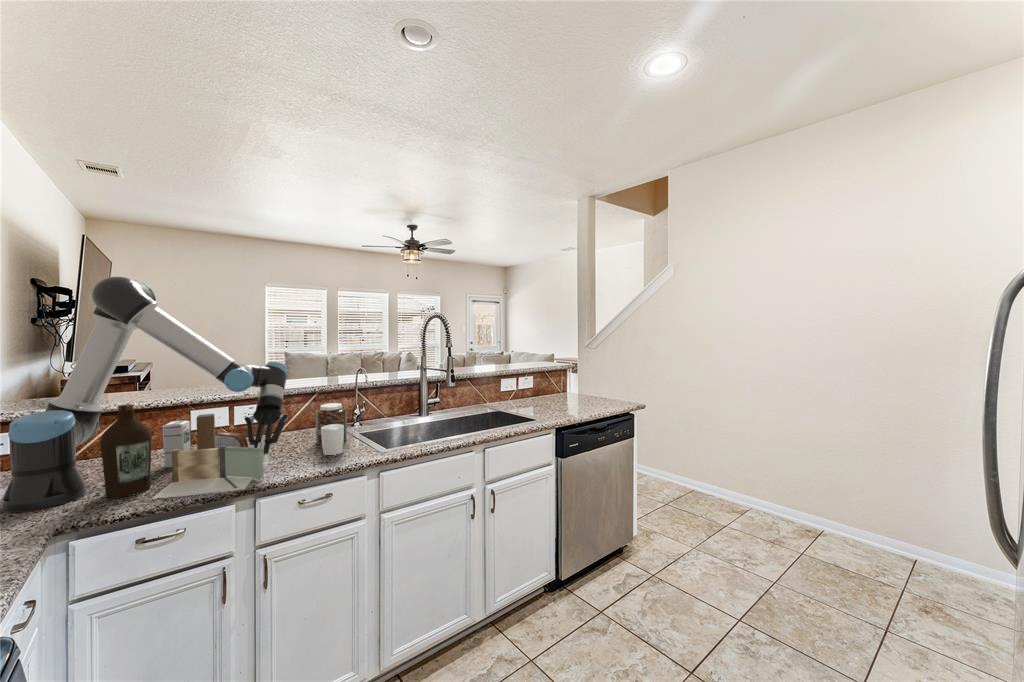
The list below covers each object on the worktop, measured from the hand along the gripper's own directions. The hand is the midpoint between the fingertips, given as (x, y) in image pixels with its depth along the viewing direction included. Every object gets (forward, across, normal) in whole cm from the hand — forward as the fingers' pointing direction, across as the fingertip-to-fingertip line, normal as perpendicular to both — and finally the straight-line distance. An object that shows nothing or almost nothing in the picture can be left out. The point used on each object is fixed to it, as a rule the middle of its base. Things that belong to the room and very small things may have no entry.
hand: (258, 463), depth 128 cm
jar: (-22, -18, -29) cm, 40 cm away
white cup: (-10, -20, -17) cm, 28 cm away
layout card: (+5, +12, -2) cm, 13 cm away
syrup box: (-12, +29, -19) cm, 37 cm away
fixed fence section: (+1, +16, -5) cm, 17 cm away
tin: (-16, +16, -23) cm, 33 cm away
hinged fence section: (+3, +4, -2) cm, 5 cm away
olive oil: (+4, +32, -2) cm, 33 cm away
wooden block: (-6, +20, -12) cm, 25 cm away
